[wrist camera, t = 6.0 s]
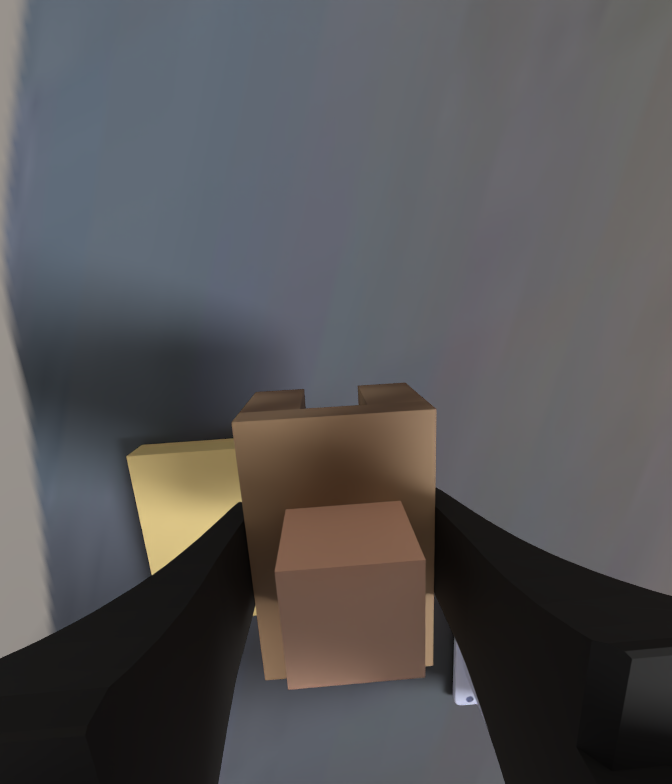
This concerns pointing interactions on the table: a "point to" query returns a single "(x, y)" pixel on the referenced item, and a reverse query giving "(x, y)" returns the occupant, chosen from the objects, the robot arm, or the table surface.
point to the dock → (182, 493)
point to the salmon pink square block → (351, 595)
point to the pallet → (331, 479)
